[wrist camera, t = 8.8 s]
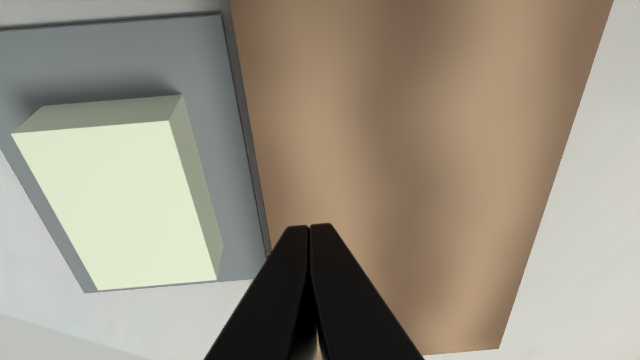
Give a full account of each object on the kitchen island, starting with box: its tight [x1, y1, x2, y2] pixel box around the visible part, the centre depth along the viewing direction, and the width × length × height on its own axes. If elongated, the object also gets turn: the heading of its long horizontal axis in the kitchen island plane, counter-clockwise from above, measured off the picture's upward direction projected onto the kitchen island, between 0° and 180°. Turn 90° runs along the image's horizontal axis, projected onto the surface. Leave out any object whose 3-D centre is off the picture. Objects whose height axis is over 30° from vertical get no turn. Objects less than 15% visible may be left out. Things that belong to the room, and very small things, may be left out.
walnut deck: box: [229, 0, 614, 360], centre depth 19 cm, size 12×22×4 cm, turn 3°
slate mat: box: [0, 14, 267, 293], centre depth 20 cm, size 11×15×1 cm
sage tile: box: [11, 94, 223, 290], centre depth 19 cm, size 6×9×2 cm, turn 4°
